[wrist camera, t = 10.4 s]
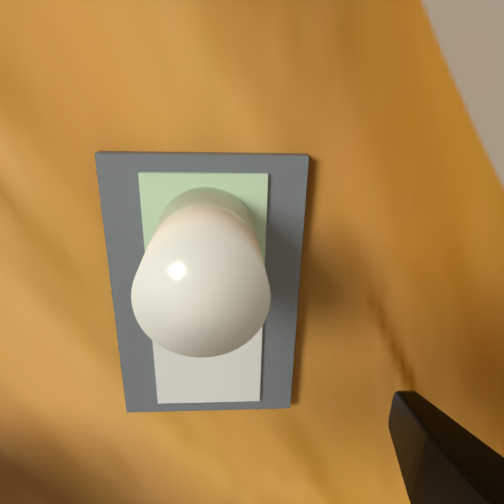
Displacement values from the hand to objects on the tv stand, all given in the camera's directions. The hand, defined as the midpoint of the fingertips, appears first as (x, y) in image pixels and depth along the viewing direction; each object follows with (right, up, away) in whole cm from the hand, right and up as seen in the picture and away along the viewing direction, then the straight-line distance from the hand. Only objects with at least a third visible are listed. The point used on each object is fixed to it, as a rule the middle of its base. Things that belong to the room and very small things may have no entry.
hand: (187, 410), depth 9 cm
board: (-1, +1, +12) cm, 12 cm away
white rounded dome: (-1, +4, +10) cm, 11 cm away
